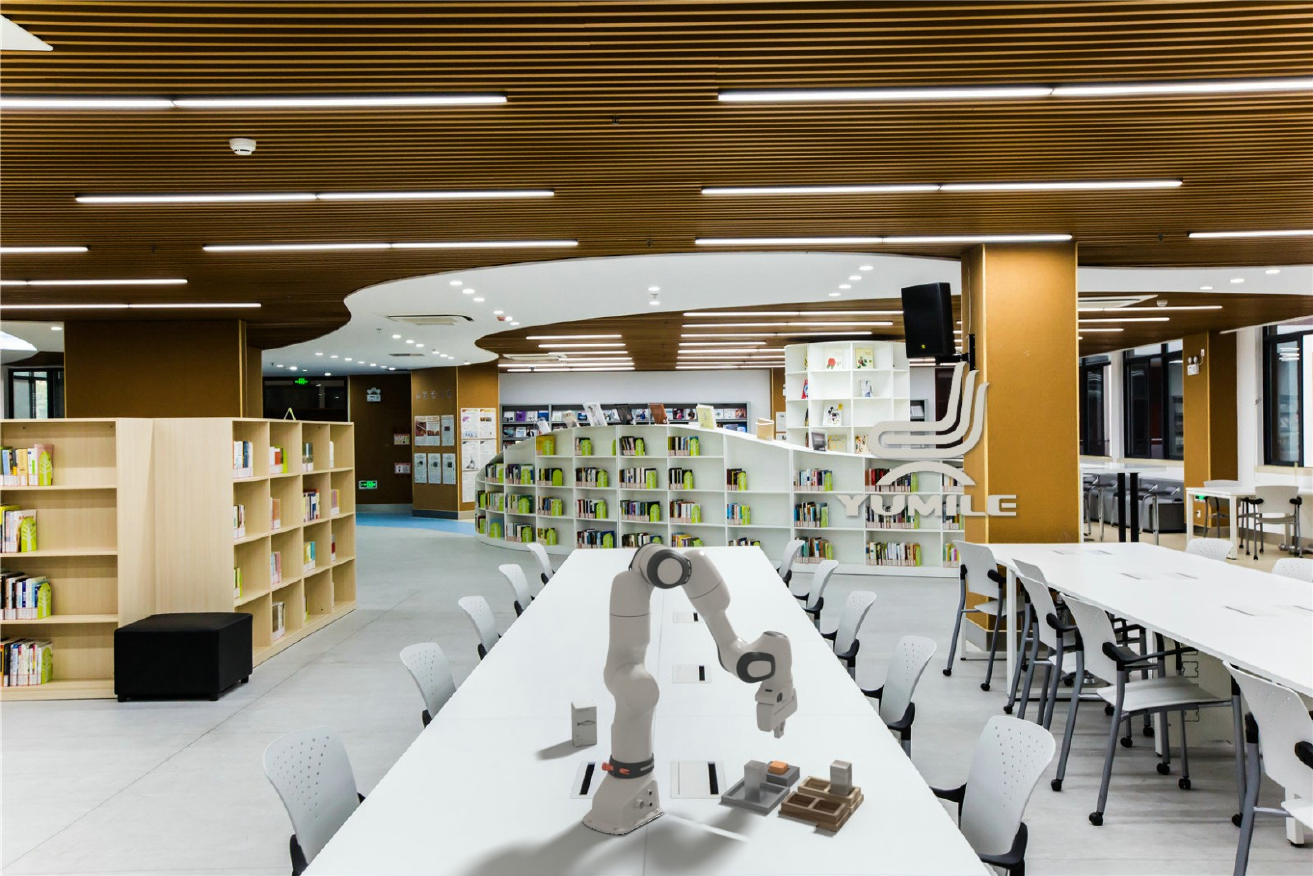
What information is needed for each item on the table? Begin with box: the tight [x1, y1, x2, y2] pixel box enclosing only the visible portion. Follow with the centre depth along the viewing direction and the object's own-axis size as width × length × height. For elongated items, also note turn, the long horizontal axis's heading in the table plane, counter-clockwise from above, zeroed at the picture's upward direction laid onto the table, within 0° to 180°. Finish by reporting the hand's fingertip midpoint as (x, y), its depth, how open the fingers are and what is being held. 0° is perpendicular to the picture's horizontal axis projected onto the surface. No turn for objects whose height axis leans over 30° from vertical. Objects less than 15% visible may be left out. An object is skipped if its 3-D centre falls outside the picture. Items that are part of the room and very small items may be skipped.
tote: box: [720, 776, 791, 815], centre depth 220 cm, size 14×14×2 cm
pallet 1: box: [797, 759, 865, 815], centre depth 220 cm, size 10×16×10 cm, turn 57°
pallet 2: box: [777, 790, 851, 833], centre depth 210 cm, size 10×16×4 cm, turn 57°
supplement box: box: [570, 699, 598, 747], centre depth 265 cm, size 7×7×13 cm
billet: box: [743, 759, 767, 802], centre depth 220 cm, size 4×5×9 cm
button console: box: [766, 760, 801, 788], centre depth 230 cm, size 9×9×4 cm
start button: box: [769, 760, 789, 775], centre depth 230 cm, size 4×4×3 cm
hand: (779, 736), depth 230 cm, fingers closed
